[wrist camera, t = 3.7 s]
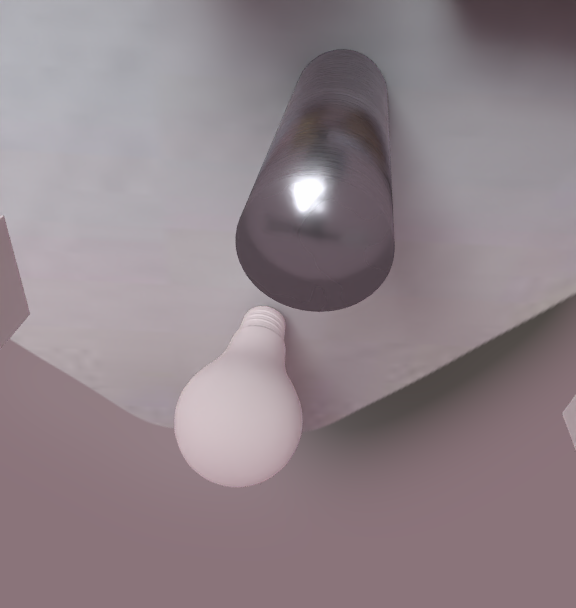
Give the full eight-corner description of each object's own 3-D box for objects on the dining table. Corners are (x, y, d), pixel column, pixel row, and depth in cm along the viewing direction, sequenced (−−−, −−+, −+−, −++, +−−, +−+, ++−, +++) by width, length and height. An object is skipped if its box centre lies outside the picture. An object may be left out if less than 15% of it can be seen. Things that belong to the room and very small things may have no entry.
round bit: (301, 41, 21) (240, 162, 11) (398, 58, 21) (414, 193, 11) (289, 136, 23) (231, 296, 14) (375, 151, 23) (373, 323, 14)
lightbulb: (336, 300, 29) (318, 468, 20) (290, 363, 33) (260, 526, 24) (239, 255, 28) (178, 413, 19) (203, 325, 32) (140, 483, 23)
